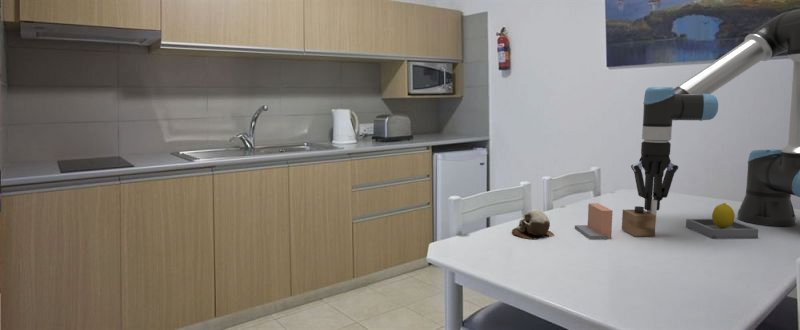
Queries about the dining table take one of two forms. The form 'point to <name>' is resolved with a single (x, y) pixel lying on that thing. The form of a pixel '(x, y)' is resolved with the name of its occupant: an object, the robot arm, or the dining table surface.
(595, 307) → the dining table surface
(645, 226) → the wooden block with knob
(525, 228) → the skull
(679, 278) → the dining table surface
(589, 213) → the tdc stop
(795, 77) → the robot arm
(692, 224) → the tray
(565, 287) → the dining table surface
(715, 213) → the lemon
